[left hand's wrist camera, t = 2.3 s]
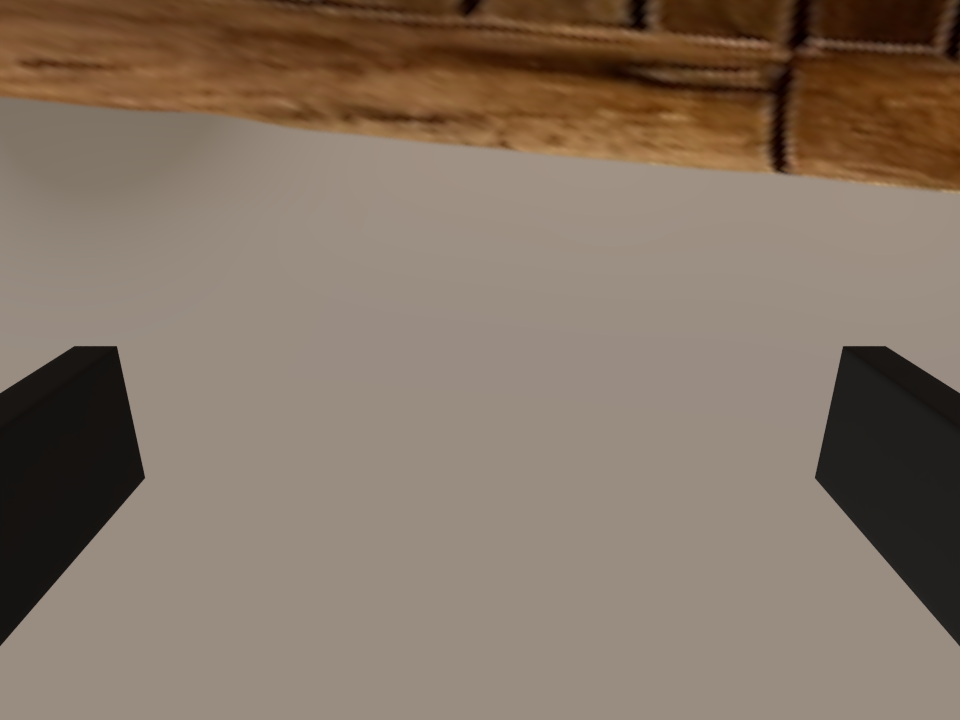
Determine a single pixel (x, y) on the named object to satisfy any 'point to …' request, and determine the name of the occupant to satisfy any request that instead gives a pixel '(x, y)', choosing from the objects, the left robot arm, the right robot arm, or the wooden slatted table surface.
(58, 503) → the left robot arm
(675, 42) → the wooden slatted table surface
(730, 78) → the wooden slatted table surface
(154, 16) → the wooden slatted table surface
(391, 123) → the wooden slatted table surface
